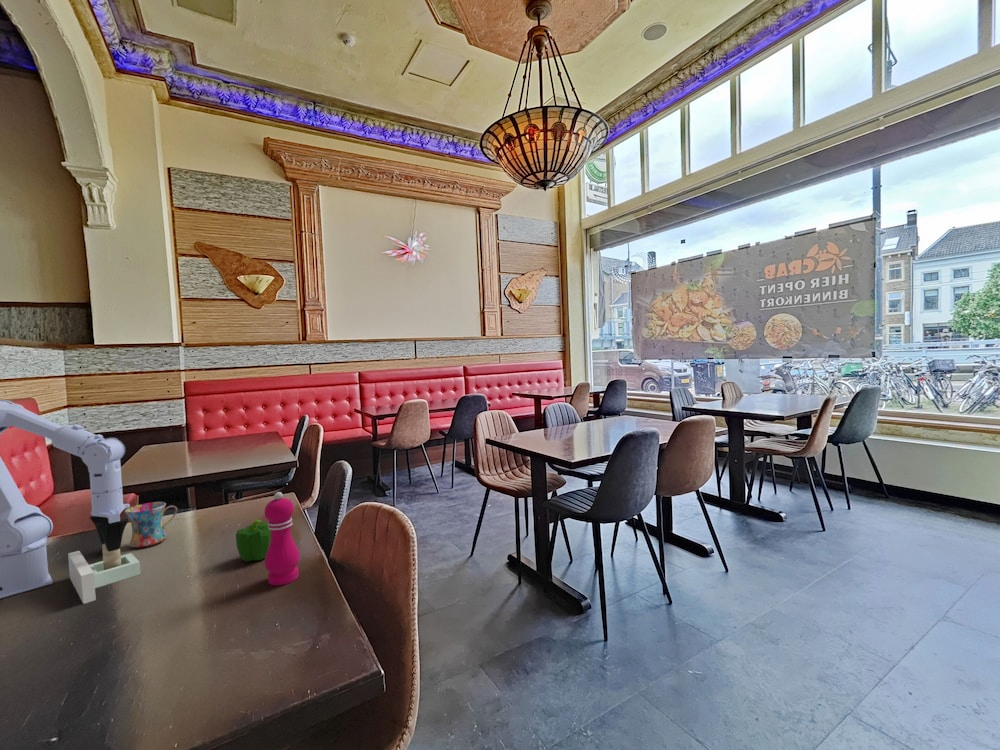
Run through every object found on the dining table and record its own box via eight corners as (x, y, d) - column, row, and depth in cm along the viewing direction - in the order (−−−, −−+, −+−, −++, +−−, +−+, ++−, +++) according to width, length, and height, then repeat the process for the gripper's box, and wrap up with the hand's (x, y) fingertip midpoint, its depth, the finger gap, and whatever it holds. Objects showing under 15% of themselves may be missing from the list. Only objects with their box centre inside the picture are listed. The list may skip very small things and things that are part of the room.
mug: (132, 553, 124) (129, 514, 124) (124, 545, 130) (121, 508, 130) (183, 538, 133) (181, 502, 133) (174, 532, 139) (171, 497, 139)
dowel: (105, 580, 108) (103, 547, 108) (103, 577, 110) (100, 544, 110) (123, 575, 110) (120, 542, 110) (120, 571, 112) (118, 539, 112)
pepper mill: (287, 587, 100) (281, 497, 99) (258, 586, 101) (252, 496, 101) (307, 572, 107) (302, 487, 106) (280, 571, 109) (275, 487, 108)
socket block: (91, 589, 104) (90, 576, 104) (84, 578, 110) (83, 566, 109) (140, 574, 110) (139, 561, 110) (132, 564, 116) (131, 553, 116)
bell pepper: (234, 558, 117) (231, 520, 117) (268, 548, 123) (266, 511, 122) (241, 568, 111) (239, 528, 111) (278, 557, 116) (275, 518, 116)
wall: (83, 603, 97) (81, 576, 97) (69, 578, 110) (68, 553, 110) (95, 599, 99) (93, 572, 98) (81, 574, 112) (79, 550, 112)
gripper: (134, 490, 108) (138, 547, 108) (121, 482, 117) (125, 534, 118) (95, 498, 102) (99, 558, 103) (84, 488, 112) (88, 543, 112)
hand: (110, 546), depth 110 cm, fingers open, 7 cm apart
